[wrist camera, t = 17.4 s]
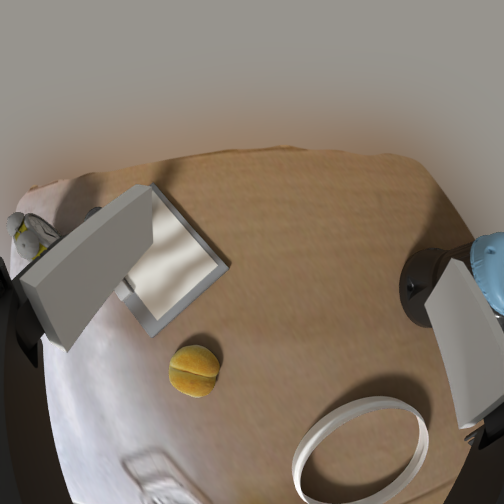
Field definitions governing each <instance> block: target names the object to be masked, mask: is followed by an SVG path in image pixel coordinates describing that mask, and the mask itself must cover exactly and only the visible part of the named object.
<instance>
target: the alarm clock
mask: <svg viewBox="0 0 504 504" xmlns="http://www.w3.org/2000/svg"><path fill="white" fill-rule="evenodd" d="M7 220H8V221H7V231H8V233H9V235H10V236H11V237H13V239H14V243H15V245H16V248H17V252H18V253H19V255H20V256H21V257H22V258H24V259H27V260H28V261H29V262H30V263H31V262H32V261H33V260H34V259H35V258H36V257H37V256H40V254H41V253H42V252H43V251H44V250H45V249H46V250H47V247H49V246H50V245H51V244H52V243H53V242H55V241H56V240H57V239H59V238H61V237H62V236H61V235H60V234H59V233H58V232H57V231H56V230H55V229H54V228H53V227H52V226H51V225H50V224H49V223H48V222H46V221H45V220H44V219H42V218H41V217H39V216H37V215H35V214H33V213H28V214H26V215H25V216H24V214H23V213H21V212H15V213H13V214H12V215H11V216H9V217H8V218H7Z"/></svg>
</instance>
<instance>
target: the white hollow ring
mask: <svg viewBox="0 0 504 504" xmlns="http://www.w3.org/2000/svg"><path fill="white" fill-rule="evenodd" d="M390 408H396V409H403V410H407V411H410V412H412V413H414V414H415V415H416V416H417V419H418V422H419V429H420V434H419V442H418V445H417V449H416V451H415V454H414V456H413V458H412V460H411V461H410V463H409V464H408V466H407V467H406V469H405V470H404V471H403V472H402V473H401V474H400V475H399V476H398V477H397V478H396V479H395V480H394V481H393V482H392V483H391V484H389V485H388V486H387V487H385V488H384V489H382V490H381V491H379V492H377V493H376V494H374V495H371V496H369V497H367V498H364V499H362V500H358V501H355V502H350V503H343V504H383V503H384V502H386V501H388V500H389V499H391V498H392V497H394V496H395V495H397V494H398V493H399V492H400V491H401V490H403V489H404V488H405V487H406V486H407V485H408V484H409V483H410V482H411V480H412V479H413V478H414V477H415V475H416V474H417V472H418V471H419V469H420V468H421V466H422V464H423V462H424V459H425V457H426V454H427V450H428V443H429V440H428V432H427V428H426V425H425V422H424V420H423V418H422V416H421V415H420V413H419V412H418V411H417V410H416V409H414V408H413V407H412V406H410V405H408V404H406V403H405V402H403V401H401V400H399V399H396V398H392V397H386V396H373V397H366V398H361V399H358V400H355V401H352V402H349V403H347V404H345V405H342V406H340V407H339V408H337V409H335V410H333V411H332V412H330V413H328V414H327V415H326V416H324V417H323V418H322V419H320V420H319V421H318V422H317V423H316V424H315V425H314V426H313V427H312V428H311V429H310V430H309V431H308V432H307V433H306V435H305V436H304V437H303V439H302V440H301V442H300V443H299V445H298V447H297V449H296V452H295V454H294V458H293V462H292V475H293V480H294V484H295V488H296V490H297V492H298V493H299V495H300V496H301V498H302V499H303V500H304V501H306V502H307V503H308V504H330V503H323V502H319V501H316V500H314V499H311V498H309V497H308V496H306V495H305V494H304V493H302V490H301V488H300V477H301V473H302V470H303V467H304V465H305V462H306V461H307V459H308V457H309V456H310V454H311V453H312V451H313V450H314V449H315V448H316V447H317V445H318V444H319V443H320V442H321V441H322V440H323V439H324V438H325V437H327V436H328V435H329V434H330V433H331V432H333V431H334V430H335V429H337V428H338V427H340V426H341V425H343V424H344V423H346V422H348V421H350V420H352V419H354V418H356V417H358V416H360V415H363V414H366V413H369V412H372V411H376V410H380V409H390Z"/></svg>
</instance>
